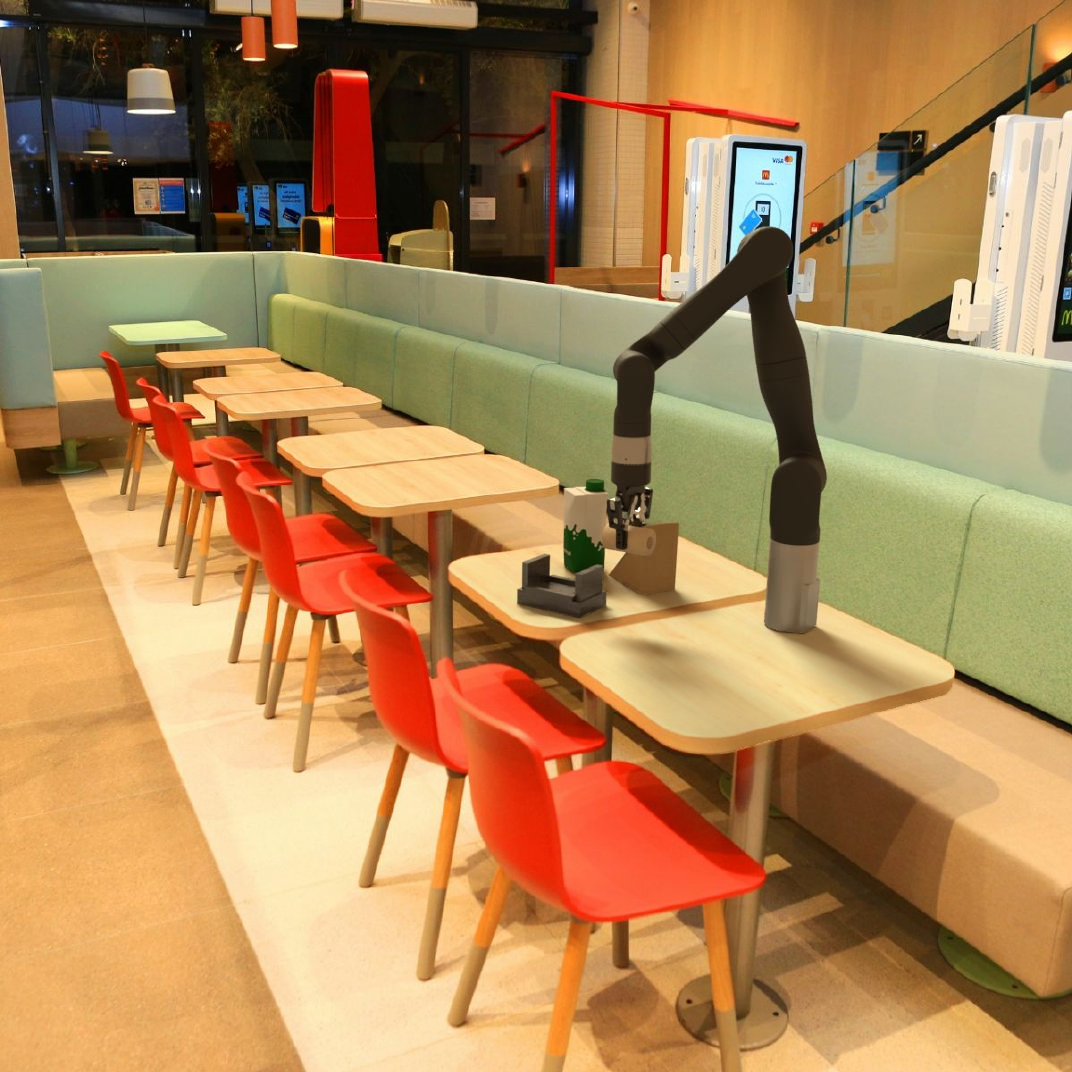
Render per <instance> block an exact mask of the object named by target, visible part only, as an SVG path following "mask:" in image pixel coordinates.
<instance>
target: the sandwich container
mask: <svg viewBox="0 0 1072 1072" xmlns="http://www.w3.org/2000/svg"><path fill="white" fill-rule="evenodd" d="M643 528H648V529H653V530H654V531H655V534H656V545H655V549H654V551H653V553H652V554H651V555H650V556H643V555H638V554H632V553H626V552H624V554H623V556H622V557H621V558H620V560H619V561H618V562H617V563H616V565H615V566H614V568H613V569H612V570H611V571H610V572H609V574H608V575H609V576H611V577H612V578H613V579H616V580H617V581H618V582H620V583H621V584H623V585H625V586H627V587H629V588H630V589H632V590H633V591H636V592H637V593H639V594H641V595H646V594H654V593H661V592H669V591H675V590H676V578H677V563H678V550H679V549H678V545H679V534H680V533H679V531H680V522H678V521H673V522H661V523H655V524H647V525H643Z"/></svg>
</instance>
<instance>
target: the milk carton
mask: <svg viewBox="0 0 1072 1072" xmlns="http://www.w3.org/2000/svg"><path fill="white" fill-rule="evenodd" d="M609 495H610V493H609V492H607V491H606V489H605V480H603V479H599V478H598V479H596V478H591V479H589V478H588V479H586V480H585V486H574V487H564V488H563V501H564V502H563V545H562V546H563V566H564V565H565V566H566V567H565V566H564V567H565V568H566V569H568V570H569V571H570V570H571V571H572V572H573V573H572V572H571V571H570V572H571V573H572V574H574V575H576V573H578V572H581V571H583V570H585V569H588V568H590V567H592V566H595V565H597V564H598V565H602V566H603V573H604V572H605V559H606V558H605V557H606V549H605V548H604V547H603V544H602V533H603V530H604V527H605V526H606V525H607V499H608V498H609Z"/></svg>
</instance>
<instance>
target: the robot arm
mask: <svg viewBox="0 0 1072 1072" xmlns="http://www.w3.org/2000/svg"><path fill="white" fill-rule="evenodd" d="M793 245H794V244H793V241H792V239H791V237H790V236H789V234H788V233H786V231H785V230H782V228H779V227H776V226H761V227H758V228H755V229H753V230H752V231H750V232H748V233H747V234H745V236H744V237H742V239H741V240H740V242H739V244H738V246H737V250H736V253H735V254H734V256H733V257H732V258H731V260H730V261H729V262H728V263H727V264H726V265H725V266H724V267H723V268H722V269H721V270H720V271H719V272H718V273H717V274H716V275H715V276H714V277H712V279H710V280H709V281H708V282H707V283H706V284H704V285H703V286H702V287H700V288H699V289H698V290H696V291H695V292H693V293H692V294H691V295H690V296H689V297H687V298H685V300H683V301H682V302H681V303H679V304H678V305H677V306H676V307H674V309H673V310H671V311H670V312H669V313H668V314H667V315H665V316H664V317H663V319H662V320H660V321H659V322H658V323H657V324H656V325H655V326H654V327H653V328H652V329H651V330H650V331H649V332H647V333H646V334H645V335H643V336H641V337H640V338H638V340H636V341H635V342H633V343H631V345H630V346H628V347H627V348H626V349H624V351H622V352H621V353H620V354H618V356H617V357H616V359H615V361H614V363H613V365H612V366H613V367H612V372H613V373H612V374H613V376H614V379H615V380H616V406H615V408H614V412H613V433H612V434H613V435H612V441H611V454H610V455H611V462H610V463H611V464H610V482H611V483H612V484H613V485H615V486H616V491H615V495H614V497H613V498H609V497H608V499H607V509H606V512H607V519H608V520H607V521H608V523H609V527H610V528H613V529H615V530H616V548H617V549H621V550H625V549H627V547H628V546H627V541H628V531H627V530H628V525H629V524H630V525H629V526H635V527H642V528H643V527H644V524H645V522H646V520H648V519H650V516H651V509H652V504H653V503H652V502H653V497H654V496H653V494H654V489H653V488H651V487H646V486H648V485H649V484H651V482H652V481H651V480H652V456H653V455H652V452H653V450H652V449H653V448H652V446H653V445H652V436H651V435H652V405H653V399H654V391H655V384H656V383H655V379H656V372H657V371H658V370H659V369H660V368H661V367H662V366H663V365H665V364H666V363H667V362H669V361H671V360H674V359H677V358H678V357H679V356H680V355H682V354H683V353H684V352H685V351H686V350H687V349H689V347H691V346H692V345H693V344H694V343H695V342H696V341H697V340H698V339H700V338H701V337H702V336H703V335H704V334H705V333H706V332H707V331H708V330H710V328H711V327H712V326H714V324H716V322H718V320H720V318H722V317H723V316H724V315H725V314H726V313H727V312H728V311H729V310H731V308H733V307H734V306H735V305H736V304H738V303H739V302H740V301H741V300H742V299H744V298H747V302H748V307H749V312H750V320H751V321H750V322H751V337H752V344H753V352H754V362H755V366H756V374H757V378H758V384H759V390H760V393H761V395H762V399H763V402H764V404H765V407H766V410H767V412H768V414H769V417H770V419H771V421H772V424H773V427H774V430H775V434H776V440H777V441H776V442H777V450H778V451H777V452H778V466H777V467H776V469H775V471H774V473H773V475H772V477H771V483H770V484H771V485H770V493H769V494H770V495H769V498H770V499H769V516H768V519H769V522H768V523H769V528H770V530H769V531H770V532H769V547H768V548H769V550H768V559H767V561H768V563H767V574H766V575H767V576H766V577H767V578H766V587H765V603H764V613H763V614H764V619H763V623H765V624H766V625H765V624H764V625H765V627H767V626H768V627H767V628H769V629H771V628H772V630H774V629H777V630H776V631H778V630H780V631H779V632H783V631H786V632H785V633H799V632H801V633H800V634H806V633H808V632H809V631H810V630H812V629H813V628H814V626H815V625H816V626H817V620H818V609H819V599H820V598H819V596H820V589H821V588H820V586H821V579H820V578H819V577H817V576H818V565H819V564H818V563H819V553H820V541H821V526H820V514H821V513H820V512H821V501H822V493H823V491H824V489H825V487H826V485H827V479H828V476H827V475H828V474H827V473H828V472H827V470H826V465H825V461H824V459H823V456H822V455H823V454H822V452H821V448H820V443H819V440H818V436H817V432H816V428H815V420H814V419H815V418H814V409H813V396H812V395H813V394H812V387H811V381H810V380H811V378H810V370H809V363H808V360H807V351H806V349H805V348H806V347H805V344H804V340H803V338H802V335H801V332H800V328H799V327H798V323H797V321H796V319H795V316H794V313H793V311H792V307H791V305H790V300H789V294H788V285H787V273H786V271H787V268H788V267H789V266H790V264H791V263H792V260H793V255H794V246H793ZM630 520H631V523H630ZM816 626H815V627H816ZM812 627H813V628H812ZM811 628H812V629H811ZM809 629H810V630H809ZM808 630H809V631H808ZM807 631H808V632H807Z"/></svg>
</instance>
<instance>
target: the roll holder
mask: <svg viewBox="0 0 1072 1072" xmlns="http://www.w3.org/2000/svg"><path fill="white" fill-rule="evenodd" d="M550 572H551V554H548V553H543V554H540V555H537V556H535V557H533V558H530V559H527V560H524V561H522V563H521V587H519V588H517V590H516V591H517V595H516V596H517V597H516V602H517V604H519V605H524V606H528V607H532V608H536V609H540V610H545V611H548V612H552V613H557V614H561V615H564V616H570V617H574V618H578V619H580V618H582V617H584V616H587V615H588V614H591V613H592V612H593V613H594V612H595V611H597V610H599V609H602V608H604V607H605V606H607V594H608V593H607V590H603V588H604V587H603V583H604V582H603V581H604V580H603V578H604V572H603V566H602V565H598V564H597V565H595V566H592V567H590V568H588V569H585V570H583V571H581V572H578V573H576V574H575V579H574V578H571V577H570V578H569V577H566V576H561V575H557V574H551V573H550Z"/></svg>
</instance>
